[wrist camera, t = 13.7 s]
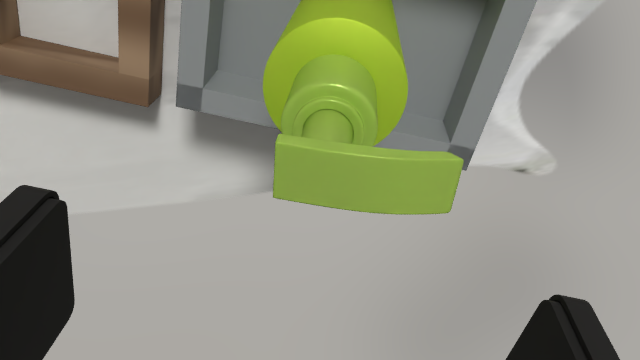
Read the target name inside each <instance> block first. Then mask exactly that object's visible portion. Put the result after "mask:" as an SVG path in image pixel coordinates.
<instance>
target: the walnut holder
mask: <svg viewBox="0 0 640 360" xmlns="http://www.w3.org/2000/svg"><path fill="white" fill-rule="evenodd" d="M164 7H165V0H118V34H119V58H117V57H113V56H108V55H104V54H99V53H95V52H90V51H86V50H81V49H77V48H72V47H68V46H63V45H59V44H54V43H50V42H46V41H41V40H37V39H32V38H28V37H23V36H20V28H19V19H18V10H17V1H16V0H0V75H5V76H9V77H14V78H18V79H23V80H27V81H32V82H36V83H41V84H46V85H50V86H55V87H59V88H64V89H68V90H73V91H77V92H82V93H86V94H91V95H95V96H100V97H104V98H109V99H114V100H118V101H123V102H127V103H132V104H136V105H141V106H145V107H149V106H150V105H151V104H152V103H153V102H154V101H155V100H156V99H157V98H158V97H159V95H160V94H161V85H162V59H163V33H164Z"/></svg>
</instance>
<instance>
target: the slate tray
mask: <svg viewBox="0 0 640 360" xmlns="http://www.w3.org/2000/svg"><path fill="white" fill-rule="evenodd" d="M300 1H301V0H182V5H181V23H180V41H179V59H178V77H177V95H176V107H181V108H185V109H190V110H194V111H199V112H203V113H208V114H212V115H217V116H221V117H226V118H231V119H235V120H240V121H244V122H249V123H253V124H258V125H262V126H267V127H271V128H276V129H278V128H277V126H276V125H275V123H274V122H273V120H272V119H271V117H270V115H269V113H268V110H267V107H266V104H265V101H264V95H263V76H264V71H265V67H266V64H267V61H268V59H269V56H270V54H271V53H272V51H273V49H274V47H275V46H276V44H277V42H278V40H279V38H280V37H281V35H282V33H283V31H284V30H285V28H286V26H287V24H288V23H289V21H290V19H291V17H292V15H293V14H294V12H295V10H296V8H297V7H298V5H299V3H300ZM536 1H537V0H392V3H393V8H394V13H395V18H396V23H397V28H398V33H399V38H400V43H401V48H402V53H403V58H404V63H405V68H406V73H407V79H408V96H407V102H406V106H405V109H404V112H403V114H402V116H401V118H400V120H399V122H398V123H397V125H396V126H395V128H394V129H393V130H392V131H391V133H390V134H389V135H388V136H387V137H386V138H384V139H383V140H382V141H381V142H379V143H378V144H376V145H375V146H373V147H379V148H388V149H398V150H411V151H443V152H450V153H452V154H454V155H456V156H458V157H460V158H462V159H463V160H464V162H463V167H462V170H467V167H468V165H469V162H470V160H471V158H472V155H473V153H474V150H475V148H476V146H477V143H478V141H479V138H480V136H481V134H482V131H483V129H484V126H485V124H486V122H487V119H488V117H489V114H490V112H491V110H492V107H493V105H494V102H495V100H496V98H497V95H498V93H499V90H500V88H501V85H502V83H503V81H504V78H505V76H506V73H507V71H508V69H509V66H510V64H511V61H512V59H513V57H514V54H515V52H516V49H517V47H518V45H519V42H520V40H521V37H522V35H523V33H524V30H525V28H526V25H527V23H528V21H529V18H530V16H531V13H532V11H533V9H534V6H535V4H536Z"/></svg>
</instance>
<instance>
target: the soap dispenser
mask: <svg viewBox="0 0 640 360" xmlns="http://www.w3.org/2000/svg"><path fill="white" fill-rule="evenodd" d="M263 95H264V101H265V104H266V107H267V110H268V113H269V115H270V117H271V119H272V120H273V122H274V123H275V125H276V126H277V128H278V129H279V130H280V131H281V132H282V134H278V137H277V139H276V143H275V163H274V186H273V197H274V198H278V199H283V200H288V201H294V202H300V203H306V204H312V205H318V206H324V207H330V208H337V209H344V210H352V211H360V212H369V213H384V214H440V213H448V212H450V210H451V207H452V204H453V200H454V197H455V193H456V189H457V186H458V182H459V178H460V174H461V170H462V167H463V162H464V160H463V159H462V158H460V157H458V156H456V155H454V154H452V153H450V152H443V151H411V150H398V149H388V148H379V147H373V146H375V145H376V144H378V143H379V142H381V141H382V140H383V139H384V138H386V137H387V136H388V135H389V134H390V133H391V131H392V130H393V129H394V128H395V126H396V125H397V123H398V122H399V120H400V118H401V116H402V114H403V112H404V109H405V106H406V102H407V96H408V79H407V73H406V68H405V63H404V58H403V53H402V48H401V43H400V38H399V33H398V28H397V23H396V18H395V13H394V8H393V3H392V0H301V1H300V3H299V5H298V7H297V8H296V10H295V12H294V14H293V15H292V17H291V19H290V21H289V23H288V24H287V26H286V28H285V30H284V31H283V33H282V35H281V37H280V38H279V40H278V42H277V44H276V46H275V47H274V49H273V51H272V53H271V54H270V56H269V59H268V61H267V64H266V67H265V71H264V76H263Z"/></svg>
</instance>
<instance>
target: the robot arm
mask: <svg viewBox="0 0 640 360" xmlns="http://www.w3.org/2000/svg"><path fill="white" fill-rule="evenodd" d="M73 308H74V288H73V276H72V263H71V250H70V238H69V225H68V212H67V205H66V203H65V201H62V200H59V196H58V194H57V192H55V191H52V190H47V189H42V188H37V187H32V186H27V185H22V186H19V187H18V188H16V189H15V190H14V191H13V192H12V193H11V194H10V195H9V196H8V197H6V198H5V199H4V200H3V201H2V202H1V203H0V360H42V359H43V358H44V356H45V355H46V353H47V352H48V350H49V349H50V347H51V346H52V344H53V343H54V341H55V340H56V338H57V337H58V335H59V333H60V332H61V331H62V329H63V328H64V326H65V325H66V323H67V321H68V320H69V318H70V316H71V314H72V311H73ZM506 360H620V359H619V357H618V355H617V353H616V351H615V349H614V348H613V346H612V344H611V342H610V340H609V338H608V337H607V335H606V333H605V331H604V329H603V327H602V325H601V323H600V322H599V320H598V318H597V316H596V314H595V312H594V310H593V308H592V307H591V305H590V304H589V303H588V302H587V301H585V300H581V299H577V298H571V297H567V296H561V295H554V296H552V297H551V298H550V299H549V300H543V301H542V302H541V303H540V304H539V306H538V308H537V309H536V311H535V313H534V314H533V316H532V317H531V319H530V321H529V323H528V324H527V326H526V327H525V329H524V331H523V332H522V334H521V335H520V337H519V339H518V341H517V342H516V344H515V345H514V347H513V349H512V350H511V352H510V353H509V355H508V357H507V358H506Z"/></svg>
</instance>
